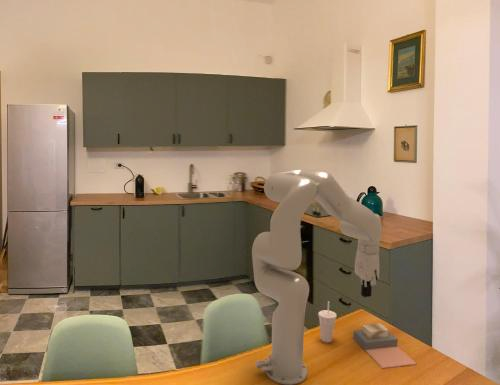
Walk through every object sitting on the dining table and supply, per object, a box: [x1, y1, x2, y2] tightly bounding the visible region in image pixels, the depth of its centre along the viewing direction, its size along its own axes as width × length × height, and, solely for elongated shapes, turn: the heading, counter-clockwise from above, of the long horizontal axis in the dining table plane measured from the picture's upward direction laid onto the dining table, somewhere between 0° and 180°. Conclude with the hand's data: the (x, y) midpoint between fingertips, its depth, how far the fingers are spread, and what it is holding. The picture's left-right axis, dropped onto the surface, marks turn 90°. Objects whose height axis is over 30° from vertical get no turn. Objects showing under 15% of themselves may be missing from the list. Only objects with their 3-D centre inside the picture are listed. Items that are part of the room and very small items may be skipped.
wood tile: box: [361, 323, 389, 339], centre depth 137 cm, size 7×5×2 cm
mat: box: [364, 345, 417, 370], centre depth 128 cm, size 12×10×1 cm
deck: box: [352, 329, 399, 351], centre depth 137 cm, size 12×8×3 cm
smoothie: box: [317, 301, 338, 343], centre depth 138 cm, size 6×6×14 cm
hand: (366, 295), depth 144 cm, fingers closed
